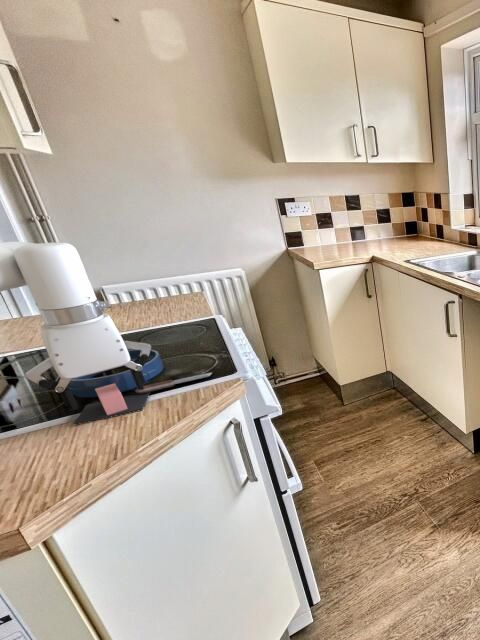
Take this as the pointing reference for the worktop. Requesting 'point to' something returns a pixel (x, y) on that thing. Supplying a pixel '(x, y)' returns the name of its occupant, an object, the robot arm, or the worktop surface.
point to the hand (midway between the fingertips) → (109, 397)
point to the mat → (98, 412)
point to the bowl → (116, 377)
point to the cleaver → (169, 383)
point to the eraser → (111, 399)
